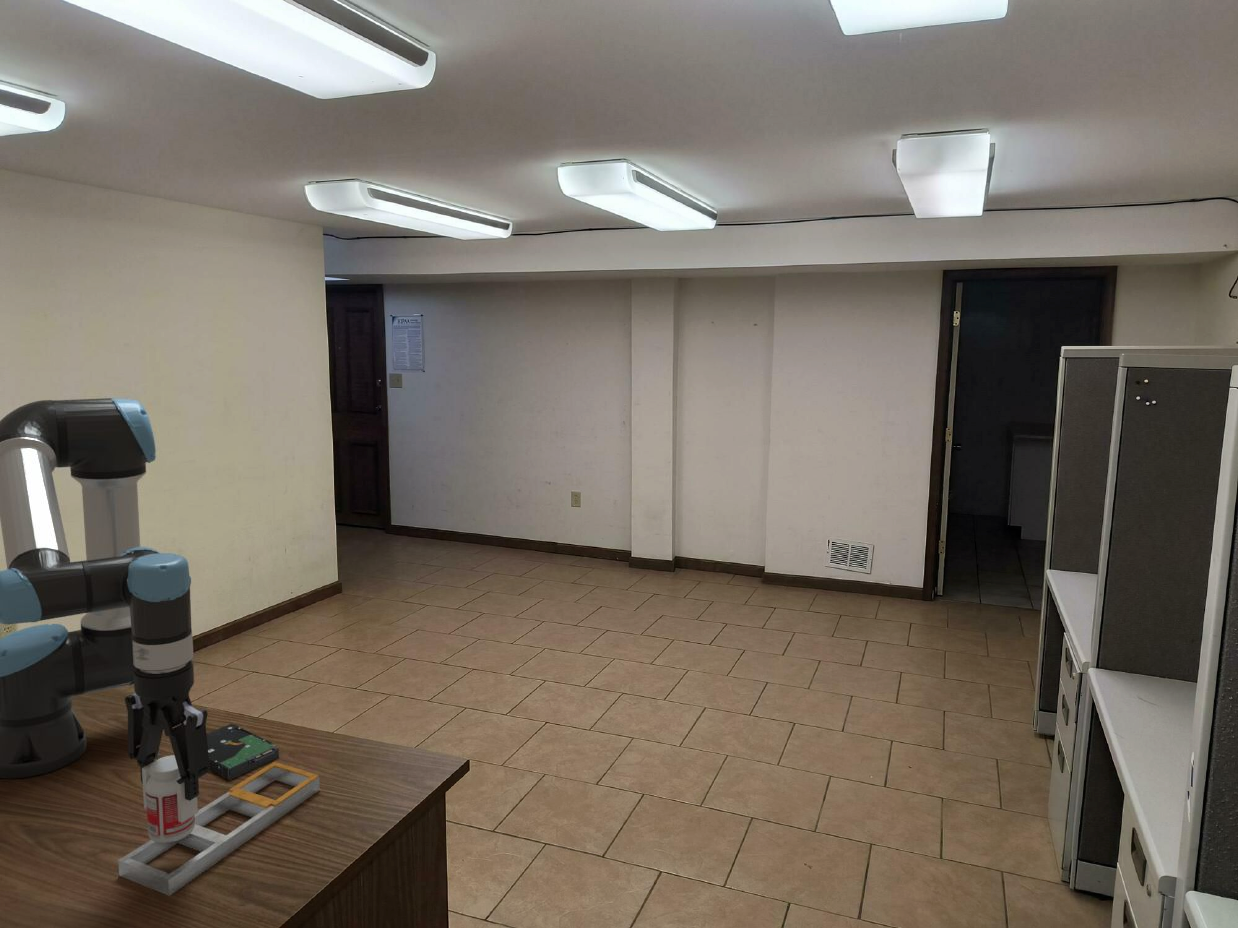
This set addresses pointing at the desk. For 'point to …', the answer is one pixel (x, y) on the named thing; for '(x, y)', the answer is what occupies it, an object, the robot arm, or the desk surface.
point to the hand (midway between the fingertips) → (170, 810)
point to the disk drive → (237, 751)
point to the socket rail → (216, 843)
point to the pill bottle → (165, 803)
